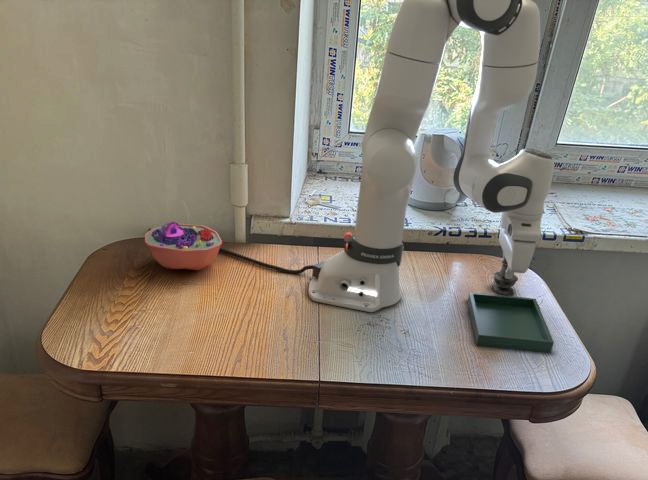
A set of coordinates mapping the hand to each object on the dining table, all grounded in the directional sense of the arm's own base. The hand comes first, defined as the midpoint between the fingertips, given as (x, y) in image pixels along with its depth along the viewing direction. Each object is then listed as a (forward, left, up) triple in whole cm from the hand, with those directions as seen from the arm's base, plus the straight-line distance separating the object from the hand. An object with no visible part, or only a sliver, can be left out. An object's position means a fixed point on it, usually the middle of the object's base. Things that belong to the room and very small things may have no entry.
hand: (506, 273), depth 148 cm
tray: (-2, -18, -5) cm, 19 cm away
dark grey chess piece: (0, 0, -5) cm, 5 cm away
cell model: (-81, -4, -5) cm, 81 cm away
